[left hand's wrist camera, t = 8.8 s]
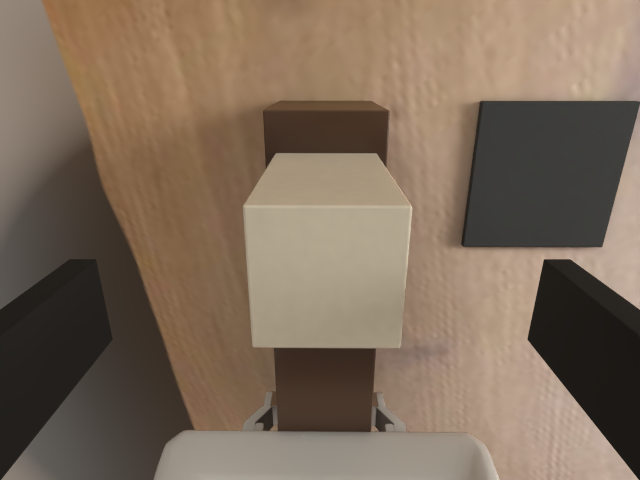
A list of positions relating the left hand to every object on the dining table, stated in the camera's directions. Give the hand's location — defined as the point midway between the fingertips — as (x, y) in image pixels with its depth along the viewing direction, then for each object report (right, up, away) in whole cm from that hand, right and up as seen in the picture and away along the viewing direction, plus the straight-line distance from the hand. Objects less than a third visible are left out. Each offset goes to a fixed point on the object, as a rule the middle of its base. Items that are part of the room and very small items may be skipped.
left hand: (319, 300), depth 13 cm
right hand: (0, -10, +20) cm, 22 cm away
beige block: (0, +4, +9) cm, 10 cm away
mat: (+15, +6, +16) cm, 23 cm away
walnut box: (0, -1, +20) cm, 20 cm away
